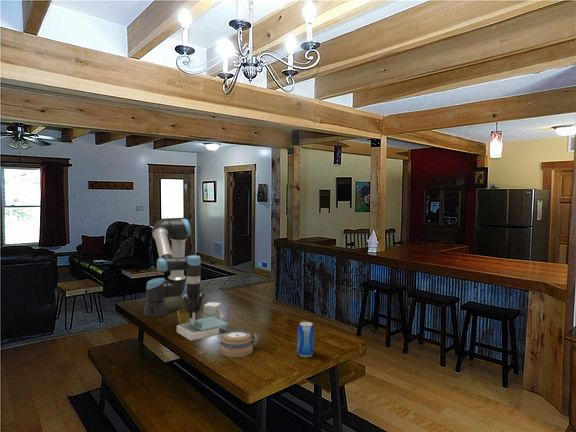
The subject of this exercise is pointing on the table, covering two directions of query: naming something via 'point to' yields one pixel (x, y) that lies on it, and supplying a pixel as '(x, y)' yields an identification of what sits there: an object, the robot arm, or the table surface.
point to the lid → (207, 323)
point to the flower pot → (182, 316)
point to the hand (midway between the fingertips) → (192, 323)
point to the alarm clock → (237, 343)
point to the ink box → (212, 310)
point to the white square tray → (195, 332)
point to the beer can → (305, 339)
